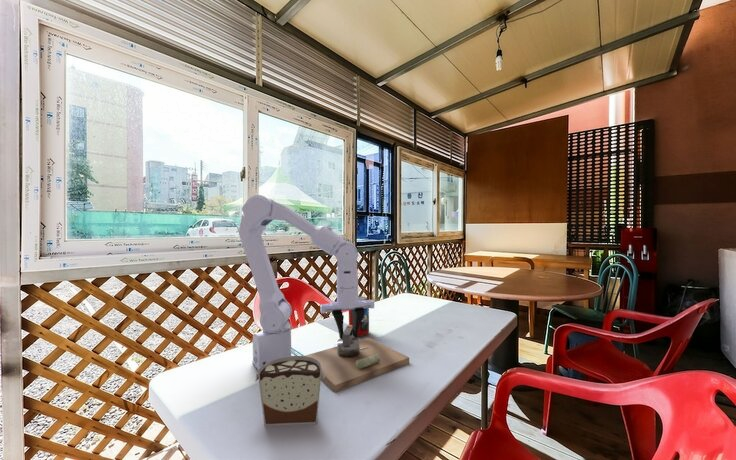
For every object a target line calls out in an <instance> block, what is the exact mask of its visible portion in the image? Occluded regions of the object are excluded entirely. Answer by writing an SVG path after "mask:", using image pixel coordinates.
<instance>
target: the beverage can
mask: <svg viewBox="0 0 736 460" xmlns="http://www.w3.org/2000/svg"><path fill="white" fill-rule="evenodd" d="M358 300H368V298H367V297H366V296H363V295H361V296H360V295H358ZM364 311H365V314H364V316H363V318H362V320H361V323H360V326H359V329H358V334H357V337H364V336H366V335H367V334H368V333H370V308H365V309H364ZM348 325H352V326H353V318H352V310H348Z"/></svg>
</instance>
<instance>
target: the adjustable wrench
mask: <svg viewBox="0 0 736 460" xmlns="http://www.w3.org/2000/svg"><path fill="white" fill-rule="evenodd" d="M292 354H293V356H305V355H304V354H303V353H301V352H299V351H298V350H296V349H295V348H294V347H292V346H291V355H292Z"/></svg>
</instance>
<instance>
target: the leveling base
mask: <svg viewBox="0 0 736 460" xmlns="http://www.w3.org/2000/svg"><path fill="white" fill-rule="evenodd" d="M359 344H360V353H359V354H358V355H356V356H352V357H342V356H340V355H338V353H337V346H335V347H331V348H327V349H324V350H319V351H316V352H312V353H309V354H306V355H304V356H308V357H312V358H315V359H317V360H318V361H319V362H320V363H321V366H322V367H323V372H324V376H325V378H324V379H323V375H322V373H321V382H323V383H324V384H325V385H326V386H328V387H329V389H330V390H332V391H333V392H334V393H337V392H339V391H342V390H344V389H347V388H349V387H353V386H355V385H357V384H360V383H362V382H363V383H364V382H365V381H367V380H369V379H370V380H371V379H373V378H376V377H378V376H380V375H383V374H386V373H388V372H390V371H393V370H395V369H398V368H401V367H404V366H406V365H409V364H410V356H407V355H405V354H404V353H400V352H399V351H397V350H394V349H392V348H391V347H389V346H386V345H385V344H382V343H380V342H379V341H376V340H374V339H373V338H370V337H364V338H362V339H359Z"/></svg>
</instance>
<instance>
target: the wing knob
mask: <svg viewBox="0 0 736 460" xmlns="http://www.w3.org/2000/svg"><path fill="white" fill-rule="evenodd" d="M342 337H343V339H341V338H339V339H337V341H336V343H337V344H336V347H337V353H338V355H340V356H342V357H352V356H356V355H358V354H359V353H360V344H359V340H360V339H359V338H357V337H354V336H353V326H352V325H349V324H347V325H346V327H345V328H344V330H343V334H342Z"/></svg>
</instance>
